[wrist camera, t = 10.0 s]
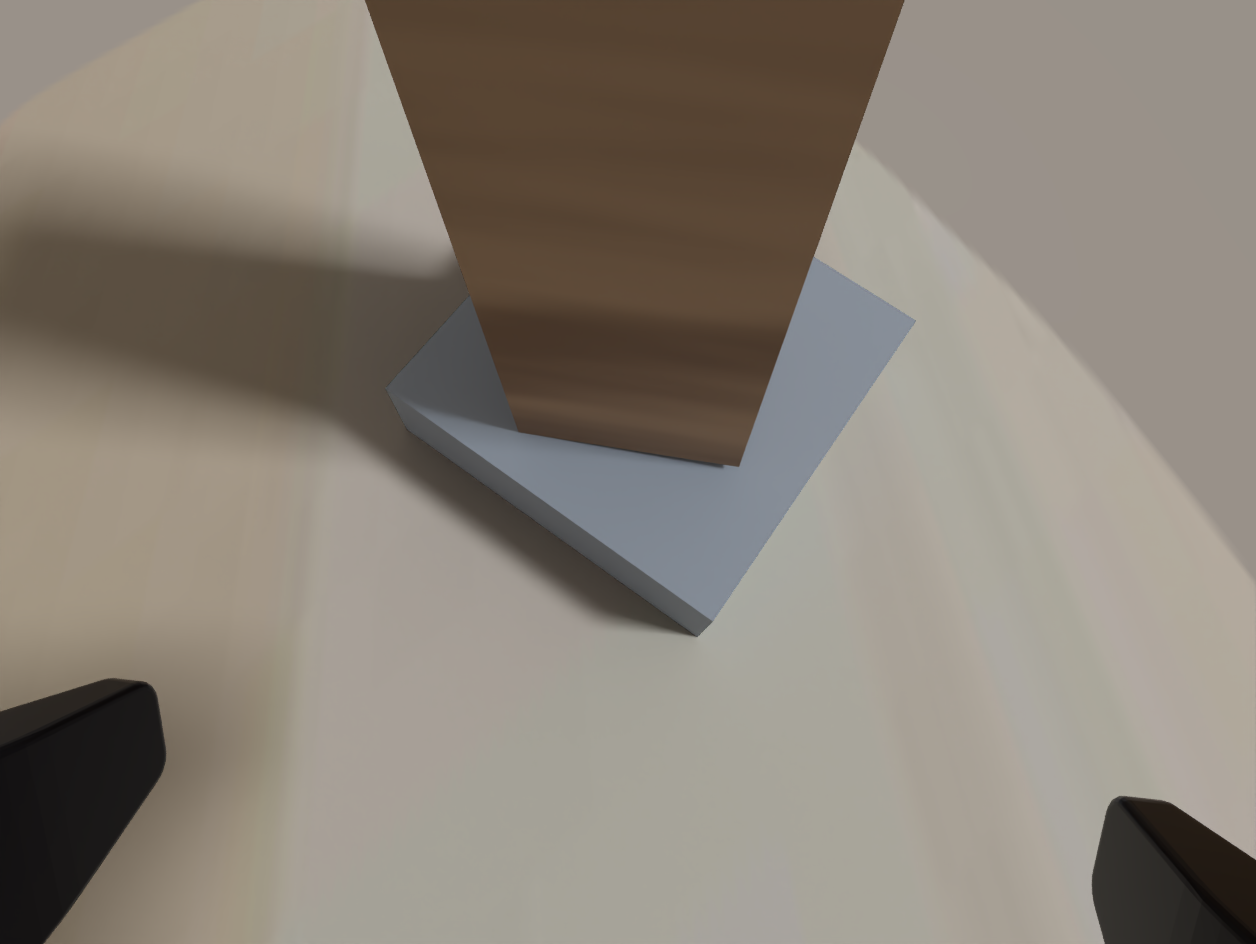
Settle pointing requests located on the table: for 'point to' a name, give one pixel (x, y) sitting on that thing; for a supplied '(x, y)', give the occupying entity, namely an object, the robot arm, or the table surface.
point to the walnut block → (635, 193)
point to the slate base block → (657, 484)
